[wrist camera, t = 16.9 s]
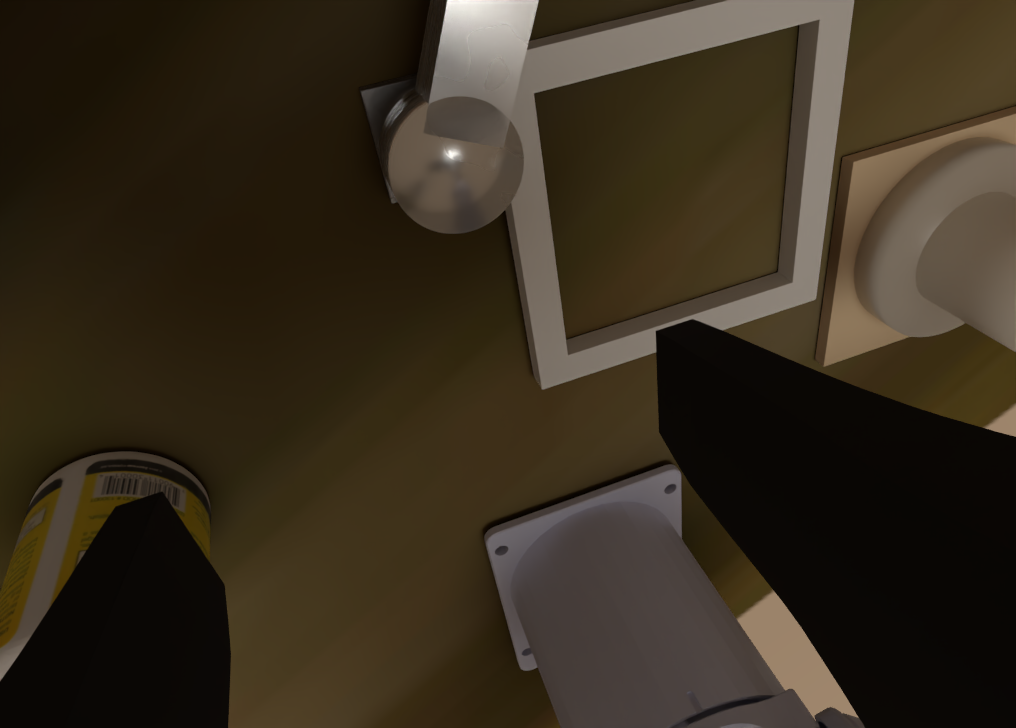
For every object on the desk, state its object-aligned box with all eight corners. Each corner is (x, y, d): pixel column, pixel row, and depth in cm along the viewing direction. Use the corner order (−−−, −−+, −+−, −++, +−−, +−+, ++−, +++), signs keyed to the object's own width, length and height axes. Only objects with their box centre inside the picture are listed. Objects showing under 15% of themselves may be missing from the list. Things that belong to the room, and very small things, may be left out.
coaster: (989, 299, 28) (999, 305, 27) (814, 359, 26) (823, 366, 26) (1050, 95, 23) (1065, 99, 23) (842, 156, 22) (853, 161, 21)
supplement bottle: (86, 584, 22) (18, 887, 15) (-7, 481, 19) (-141, 799, 12) (238, 530, 22) (236, 797, 16) (169, 423, 20) (132, 694, 13)
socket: (801, 288, 24) (815, 299, 24) (533, 376, 23) (542, 389, 22) (837, -35, 18) (858, -32, 18) (478, 53, 17) (487, 59, 16)
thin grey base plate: (491, 170, 18) (509, 190, 17) (389, 198, 18) (400, 221, 17) (471, 60, 17) (490, 73, 15) (358, 87, 16) (368, 103, 15)
